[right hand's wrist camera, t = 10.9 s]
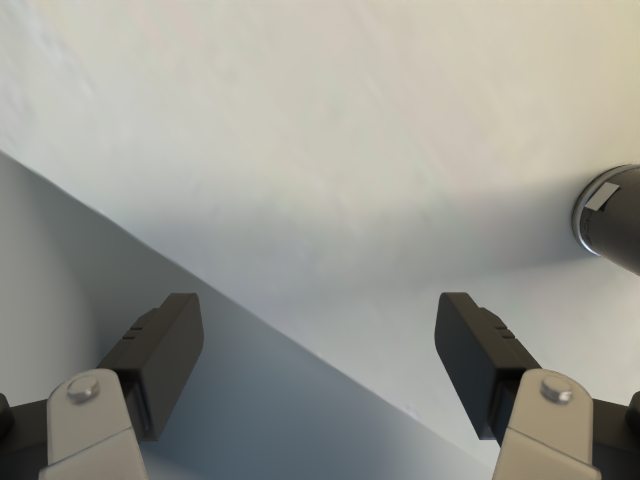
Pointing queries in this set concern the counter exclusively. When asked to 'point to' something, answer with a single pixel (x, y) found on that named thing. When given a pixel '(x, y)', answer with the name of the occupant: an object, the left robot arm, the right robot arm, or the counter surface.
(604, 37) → the counter surface
